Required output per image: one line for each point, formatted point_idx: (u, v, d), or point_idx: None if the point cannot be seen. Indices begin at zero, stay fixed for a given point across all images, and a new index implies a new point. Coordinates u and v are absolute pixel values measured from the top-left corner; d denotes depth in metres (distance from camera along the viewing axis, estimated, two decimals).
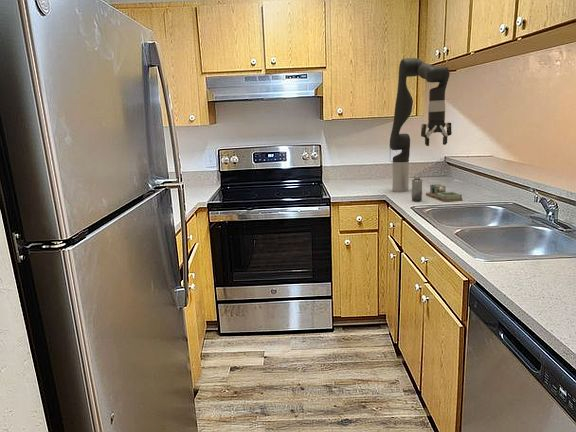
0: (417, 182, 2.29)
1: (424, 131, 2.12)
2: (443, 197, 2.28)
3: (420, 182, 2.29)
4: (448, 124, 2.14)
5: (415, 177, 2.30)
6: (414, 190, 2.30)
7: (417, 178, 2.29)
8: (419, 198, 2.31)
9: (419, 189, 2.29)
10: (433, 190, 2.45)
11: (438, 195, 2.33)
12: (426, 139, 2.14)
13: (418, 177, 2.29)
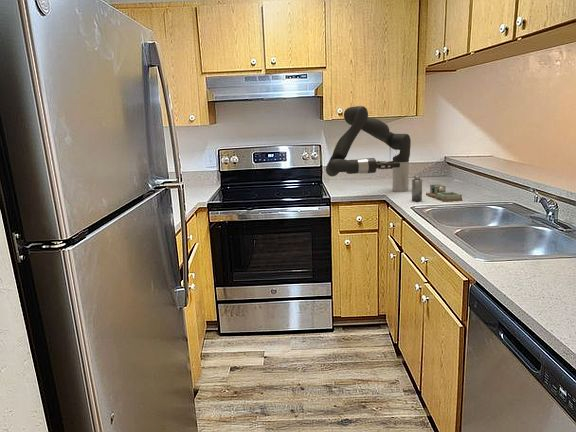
0: (417, 182, 2.29)
1: None
2: (443, 197, 2.28)
3: (420, 182, 2.29)
4: None
5: (415, 177, 2.30)
6: (414, 190, 2.30)
7: (417, 178, 2.29)
8: (419, 198, 2.31)
9: (419, 189, 2.29)
10: (433, 190, 2.45)
11: (438, 195, 2.33)
12: None
13: (418, 177, 2.29)
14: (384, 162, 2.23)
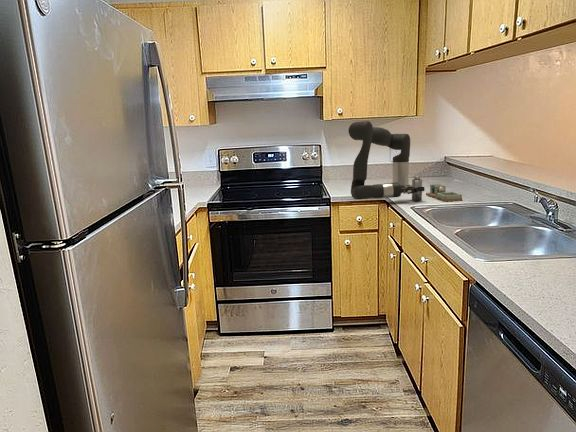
0: (417, 182, 2.29)
1: None
2: (443, 197, 2.28)
3: (420, 182, 2.29)
4: None
5: (415, 177, 2.30)
6: (414, 190, 2.30)
7: (417, 178, 2.29)
8: (419, 198, 2.31)
9: None
10: (433, 190, 2.45)
11: (438, 195, 2.33)
12: None
13: (418, 177, 2.29)
14: (409, 186, 2.28)
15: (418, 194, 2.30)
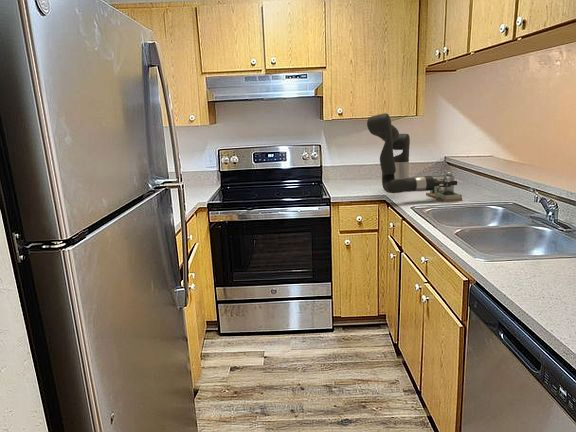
0: (450, 179, 2.27)
1: None
2: (443, 197, 2.28)
3: (452, 178, 2.28)
4: None
5: (447, 173, 2.28)
6: None
7: (449, 174, 2.28)
8: (451, 194, 2.29)
9: (451, 185, 2.28)
10: (433, 190, 2.45)
11: (438, 195, 2.33)
12: None
13: (450, 173, 2.28)
14: (441, 180, 2.26)
15: (450, 190, 2.29)
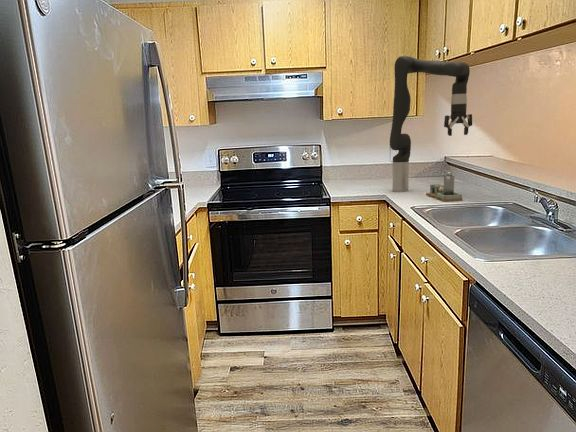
0: (450, 179, 2.27)
1: (447, 122, 2.30)
2: (443, 197, 2.28)
3: (452, 178, 2.28)
4: (469, 116, 2.32)
5: (447, 173, 2.28)
6: (446, 186, 2.29)
7: (449, 174, 2.28)
8: (451, 194, 2.29)
9: (451, 185, 2.28)
10: (433, 190, 2.45)
11: (438, 195, 2.33)
12: (449, 129, 2.32)
13: (450, 173, 2.28)
14: None
15: (450, 190, 2.29)
